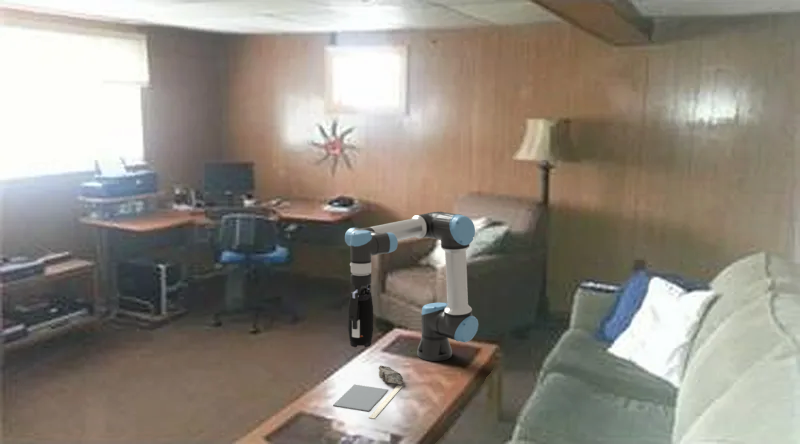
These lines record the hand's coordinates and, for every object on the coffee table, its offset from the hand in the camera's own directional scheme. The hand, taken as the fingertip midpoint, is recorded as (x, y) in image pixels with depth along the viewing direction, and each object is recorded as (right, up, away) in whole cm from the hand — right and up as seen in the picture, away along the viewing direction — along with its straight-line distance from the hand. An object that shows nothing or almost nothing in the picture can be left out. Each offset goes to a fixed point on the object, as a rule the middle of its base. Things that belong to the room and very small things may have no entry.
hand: (360, 333), depth 258 cm
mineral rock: (+11, -22, +21) cm, 32 cm away
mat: (0, -25, +4) cm, 25 cm away
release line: (+9, -26, +1) cm, 27 cm away
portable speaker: (0, -5, +1) cm, 5 cm away
